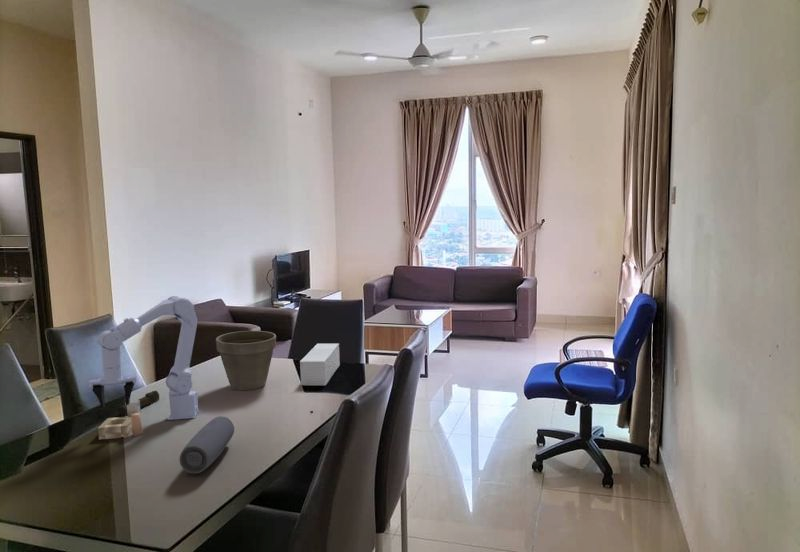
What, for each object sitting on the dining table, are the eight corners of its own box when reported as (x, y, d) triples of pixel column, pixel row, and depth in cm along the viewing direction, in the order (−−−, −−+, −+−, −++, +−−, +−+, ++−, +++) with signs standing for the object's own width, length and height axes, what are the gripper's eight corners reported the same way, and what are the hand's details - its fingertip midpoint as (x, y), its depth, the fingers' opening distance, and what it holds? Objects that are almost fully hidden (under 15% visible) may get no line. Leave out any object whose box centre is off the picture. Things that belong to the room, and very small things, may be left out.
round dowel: (143, 432, 191) (141, 412, 190) (140, 435, 188) (139, 415, 187) (134, 432, 191) (132, 413, 190) (131, 436, 188) (129, 416, 187)
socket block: (135, 427, 196) (135, 416, 195) (127, 437, 187) (126, 425, 187) (108, 429, 194) (107, 418, 194) (99, 439, 186) (98, 427, 185)
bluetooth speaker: (208, 444, 180) (206, 414, 178) (236, 444, 179) (235, 414, 178) (178, 478, 157) (175, 444, 156) (211, 478, 157) (208, 444, 156)
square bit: (141, 421, 201) (139, 399, 201) (138, 424, 198) (136, 402, 197) (131, 421, 201) (129, 400, 200) (128, 425, 198) (126, 403, 197)
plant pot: (290, 381, 244) (288, 333, 242) (247, 398, 223) (244, 345, 221) (250, 374, 257) (247, 328, 255) (206, 389, 237) (203, 339, 234)
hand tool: (124, 417, 206) (124, 405, 206) (117, 416, 208) (116, 404, 207) (164, 401, 223) (163, 390, 223) (157, 400, 225) (156, 389, 224)
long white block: (318, 365, 271) (317, 343, 269) (339, 365, 270) (338, 343, 268) (301, 385, 239) (299, 361, 238) (325, 385, 238) (324, 361, 237)
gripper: (138, 361, 194) (141, 399, 195) (92, 365, 190) (95, 403, 192) (133, 366, 187) (136, 405, 188) (85, 370, 183) (89, 410, 185)
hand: (115, 405), depth 190 cm, fingers open, 7 cm apart
